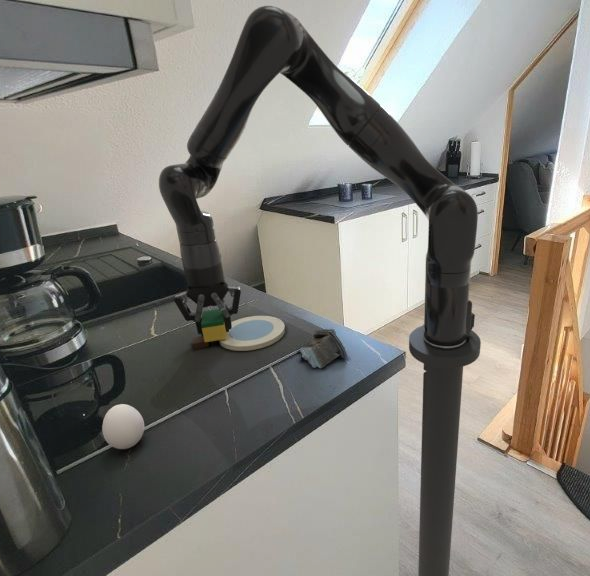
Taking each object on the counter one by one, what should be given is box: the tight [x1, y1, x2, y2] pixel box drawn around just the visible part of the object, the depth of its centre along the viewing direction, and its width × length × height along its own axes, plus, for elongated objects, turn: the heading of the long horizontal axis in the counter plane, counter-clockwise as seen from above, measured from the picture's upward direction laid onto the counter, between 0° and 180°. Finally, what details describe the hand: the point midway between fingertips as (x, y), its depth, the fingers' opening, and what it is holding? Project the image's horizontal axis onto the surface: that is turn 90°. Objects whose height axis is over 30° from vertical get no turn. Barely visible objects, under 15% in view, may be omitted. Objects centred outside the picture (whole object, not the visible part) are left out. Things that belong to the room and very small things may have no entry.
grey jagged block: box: [299, 328, 348, 369], centre depth 84 cm, size 10×7×12 cm
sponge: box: [201, 308, 226, 343], centre depth 91 cm, size 7×4×4 cm, turn 20°
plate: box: [217, 315, 286, 352], centre depth 95 cm, size 15×15×1 cm
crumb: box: [192, 335, 210, 350], centre depth 91 cm, size 3×3×2 cm
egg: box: [101, 403, 145, 450], centre depth 61 cm, size 5×5×7 cm
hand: (215, 332), depth 92 cm, fingers closed on sponge, 4 cm apart
